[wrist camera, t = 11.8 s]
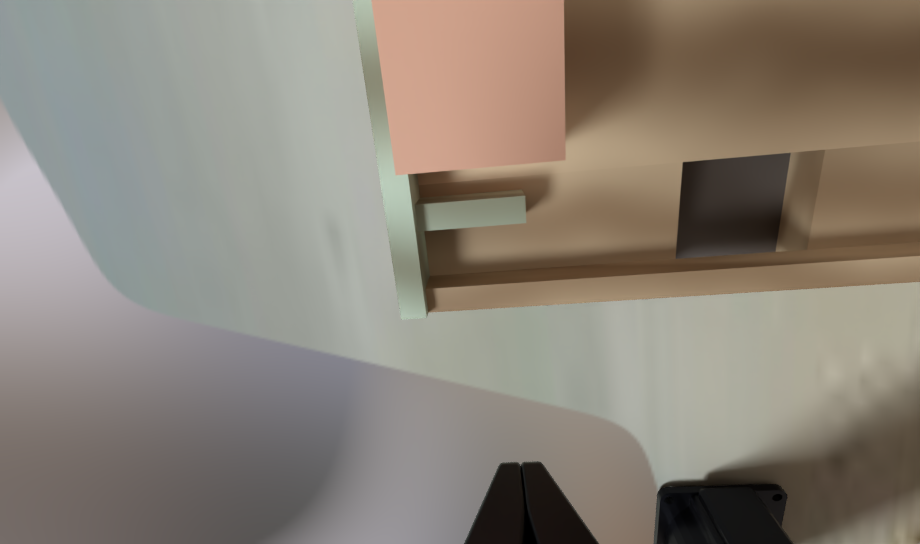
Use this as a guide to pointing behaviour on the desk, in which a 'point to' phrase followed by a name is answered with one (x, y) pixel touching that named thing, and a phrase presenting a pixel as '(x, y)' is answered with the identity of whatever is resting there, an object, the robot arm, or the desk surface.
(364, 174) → the desk surface
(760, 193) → the board
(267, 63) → the desk surface
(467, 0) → the block
